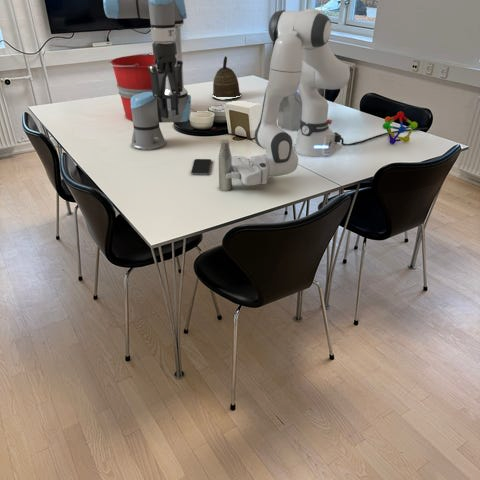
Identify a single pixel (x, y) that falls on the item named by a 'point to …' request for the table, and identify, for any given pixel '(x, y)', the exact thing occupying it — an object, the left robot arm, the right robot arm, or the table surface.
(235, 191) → the table surface
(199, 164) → the smartphone
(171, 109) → the cap
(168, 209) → the table surface
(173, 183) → the table surface
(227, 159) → the bottle
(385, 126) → the educational toy
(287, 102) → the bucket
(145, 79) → the bucket
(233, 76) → the bell
